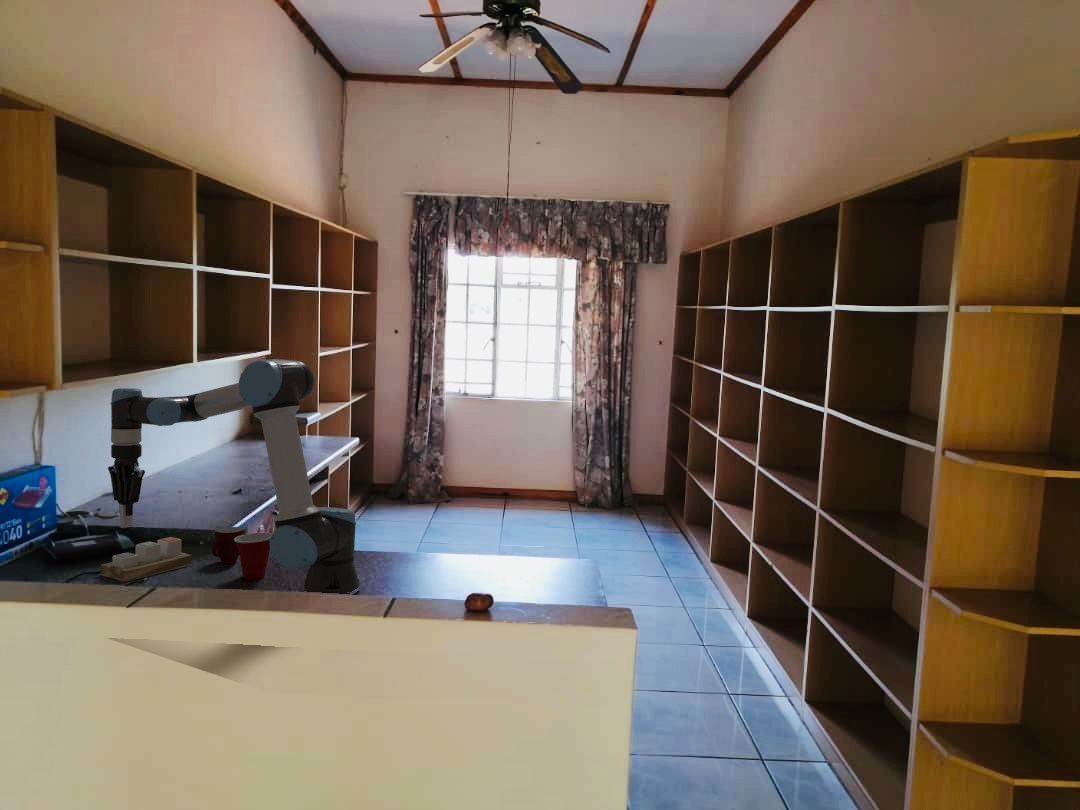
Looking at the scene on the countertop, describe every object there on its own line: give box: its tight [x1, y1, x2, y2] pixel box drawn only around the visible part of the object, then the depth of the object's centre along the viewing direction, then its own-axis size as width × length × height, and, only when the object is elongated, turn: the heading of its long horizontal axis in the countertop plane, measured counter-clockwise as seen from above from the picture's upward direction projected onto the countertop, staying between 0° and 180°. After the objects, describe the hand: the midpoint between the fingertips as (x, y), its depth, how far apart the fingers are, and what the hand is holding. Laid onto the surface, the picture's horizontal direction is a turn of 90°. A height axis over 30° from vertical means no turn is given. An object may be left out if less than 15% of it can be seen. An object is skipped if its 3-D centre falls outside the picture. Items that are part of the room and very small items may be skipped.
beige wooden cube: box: [135, 541, 160, 564], centre depth 223 cm, size 5×5×5 cm
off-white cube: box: [111, 552, 138, 569], centre depth 216 cm, size 5×5×5 cm
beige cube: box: [157, 536, 182, 558], centre depth 229 cm, size 5×5×5 cm
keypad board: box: [100, 552, 193, 583], centre depth 223 cm, size 11×21×3 cm, turn 152°
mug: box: [211, 526, 245, 564], centre depth 233 cm, size 11×8×10 cm
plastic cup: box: [234, 532, 273, 580], centre depth 221 cm, size 11×11×12 cm
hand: (126, 526), depth 216 cm, fingers closed
